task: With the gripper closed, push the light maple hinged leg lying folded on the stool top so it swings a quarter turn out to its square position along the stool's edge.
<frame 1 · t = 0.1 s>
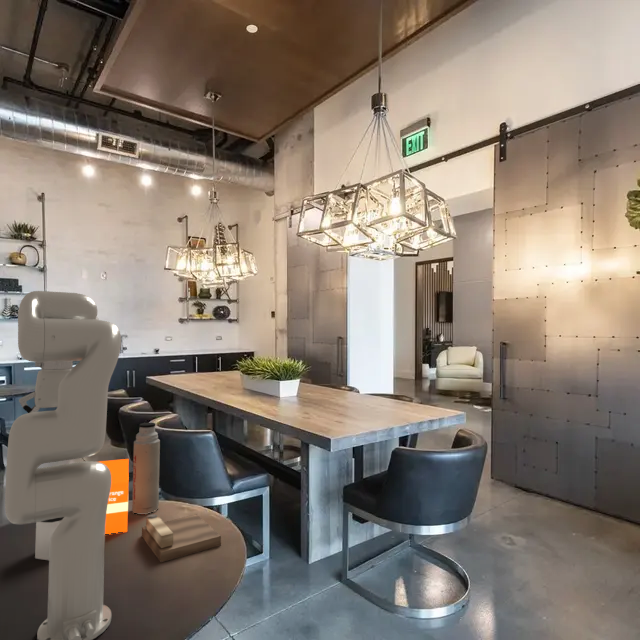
hand: (55, 427, 124), 31 cm above the table, tool pointing down, fingers open, 9 cm apart
jar: (54, 553, 116), on the table
hinged leg: (158, 529, 120), point 4 cm above the table, hinge at 0.0°
stool top: (180, 540, 124), on the table
orange juice: (111, 529, 131), on the table
thermos bottle: (145, 510, 145), on the table
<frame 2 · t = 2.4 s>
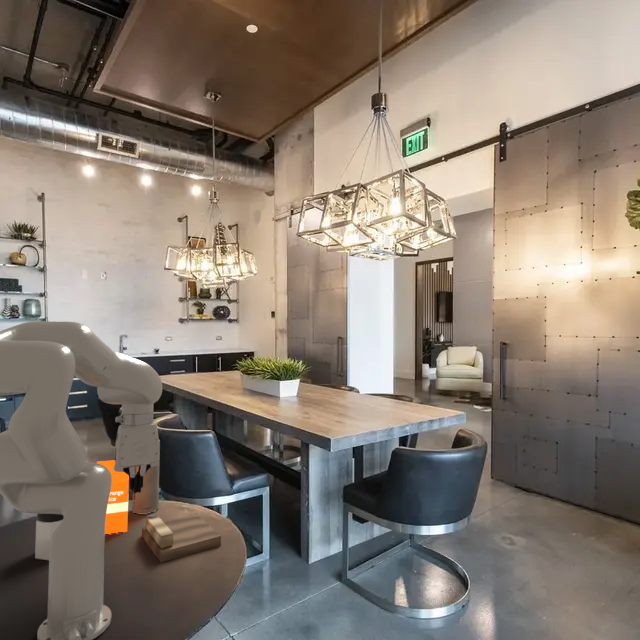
hand: (136, 491, 114), 17 cm above the table, tool pointing down, fingers closed
nothing on the table moved.
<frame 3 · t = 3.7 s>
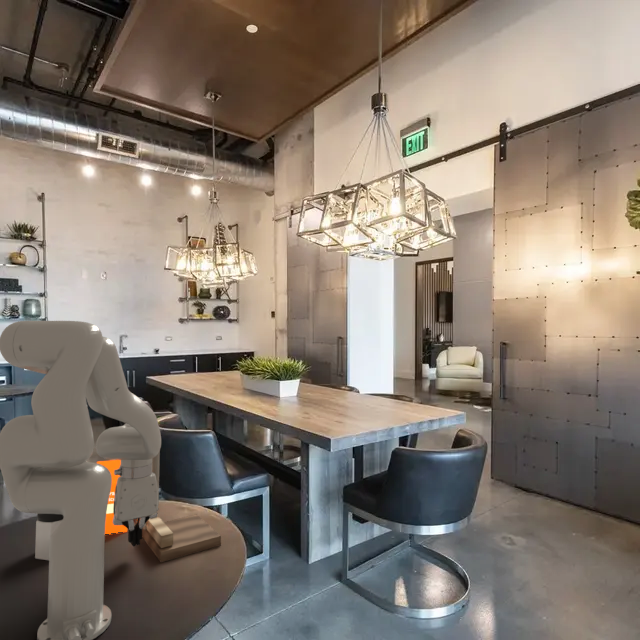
hand: (134, 543, 113), 4 cm above the table, tool pointing down, fingers closed
nothing on the table moved.
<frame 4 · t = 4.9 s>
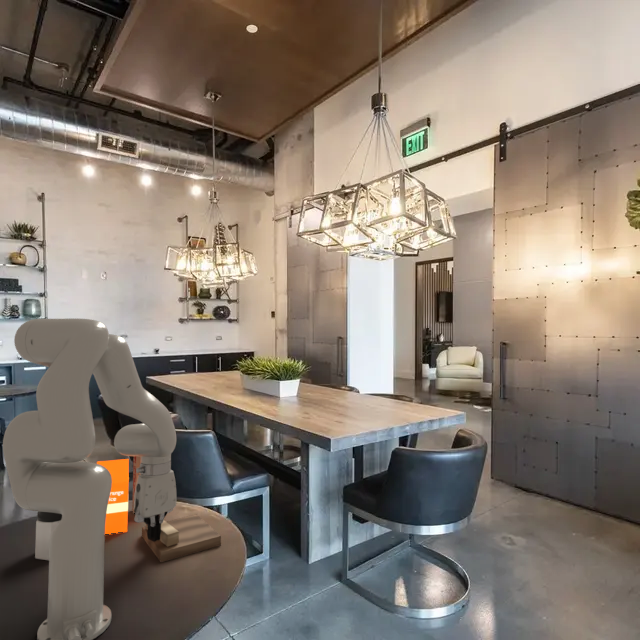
hand: (153, 539, 116), 4 cm above the table, tool pointing down, fingers closed
hinged leg: (160, 529, 121), point 4 cm above the table, hinge at 6.2°, touching gripper
everything else where it was.
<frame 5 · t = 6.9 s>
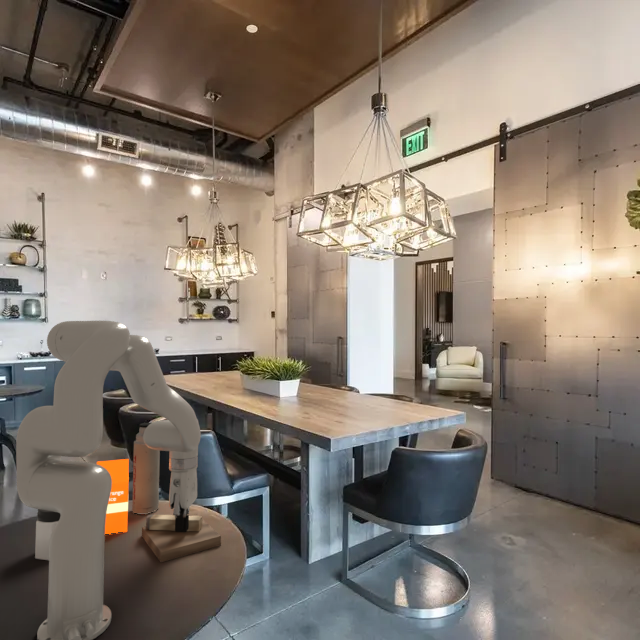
hand: (181, 530, 121), 4 cm above the table, tool pointing down, fingers closed
hinged leg: (173, 522, 125), point 4 cm above the table, hinge at 50.4°, touching gripper
everything else where it was.
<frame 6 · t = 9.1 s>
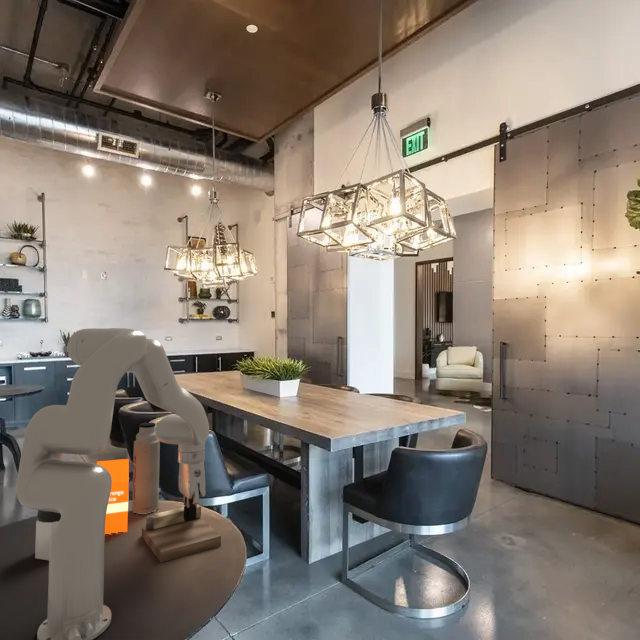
hand: (189, 519, 129), 4 cm above the table, tool pointing down, fingers closed
hinged leg: (173, 516, 129), point 4 cm above the table, hinge at 92.9°, touching gripper
everything else where it was.
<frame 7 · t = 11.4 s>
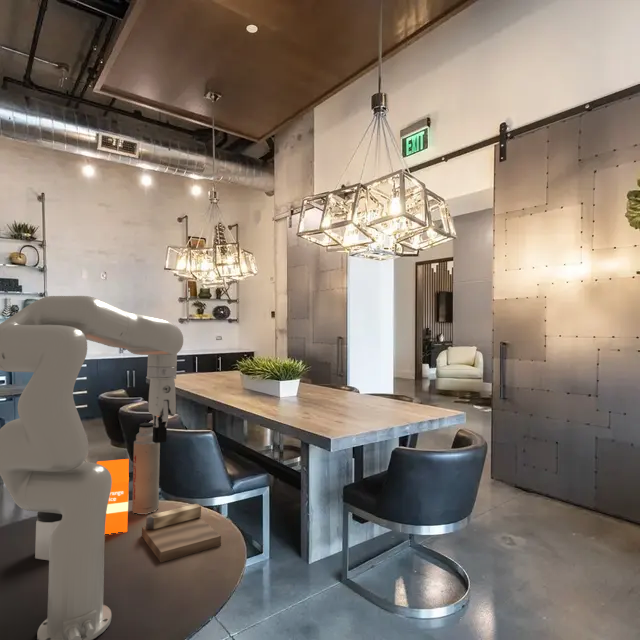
hand: (159, 441, 120), 28 cm above the table, tool pointing down, fingers closed
hinged leg: (173, 516, 129), point 4 cm above the table, hinge at 93.1°
everything else where it was.
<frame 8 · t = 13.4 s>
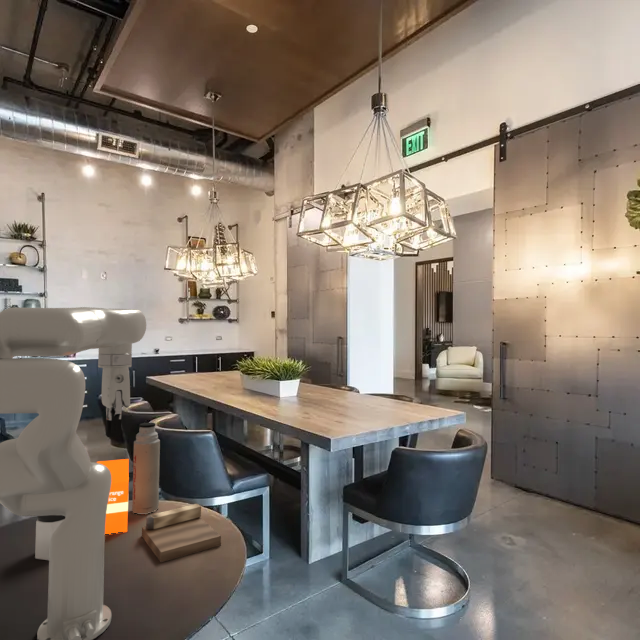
hand: (113, 435, 110), 32 cm above the table, tool pointing down, fingers closed
nothing on the table moved.
at the end: hinged leg at +93° (first picture: +0°) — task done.
